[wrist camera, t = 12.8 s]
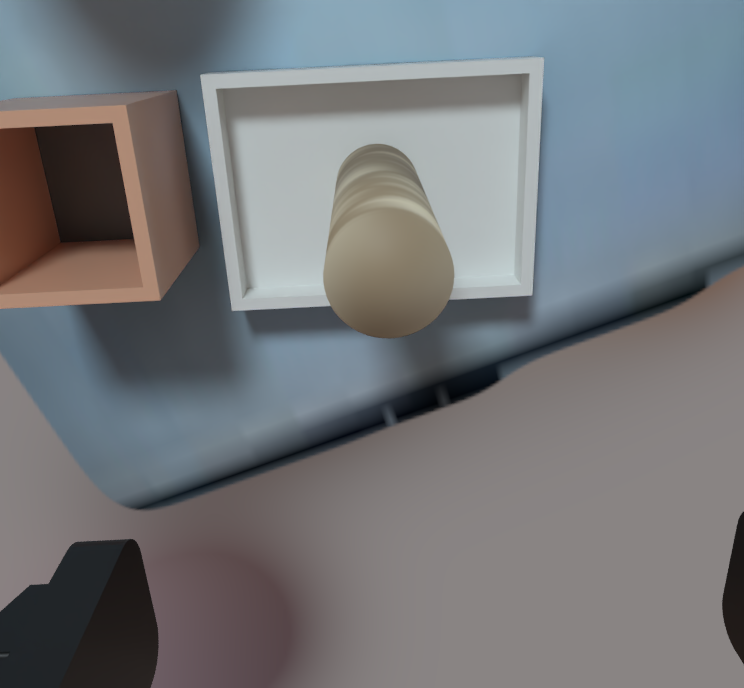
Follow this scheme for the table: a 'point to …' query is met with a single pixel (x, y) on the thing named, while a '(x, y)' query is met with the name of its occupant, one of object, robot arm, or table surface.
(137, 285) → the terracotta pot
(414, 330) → the maple peg
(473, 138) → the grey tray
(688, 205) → the table surface
